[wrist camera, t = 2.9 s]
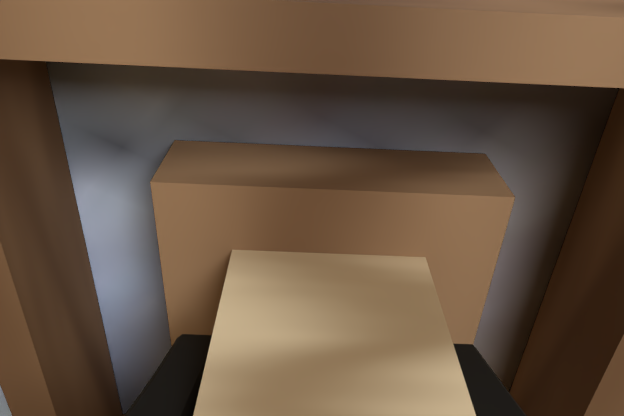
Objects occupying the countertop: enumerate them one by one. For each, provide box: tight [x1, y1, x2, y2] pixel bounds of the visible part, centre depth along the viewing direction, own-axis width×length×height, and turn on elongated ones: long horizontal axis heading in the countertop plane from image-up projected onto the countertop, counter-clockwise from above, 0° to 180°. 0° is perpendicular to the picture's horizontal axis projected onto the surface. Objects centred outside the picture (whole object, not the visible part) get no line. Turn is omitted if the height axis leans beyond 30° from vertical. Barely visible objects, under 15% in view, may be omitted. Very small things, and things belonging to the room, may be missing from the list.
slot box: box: [0, 0, 624, 416], centre depth 12 cm, size 14×14×3 cm
